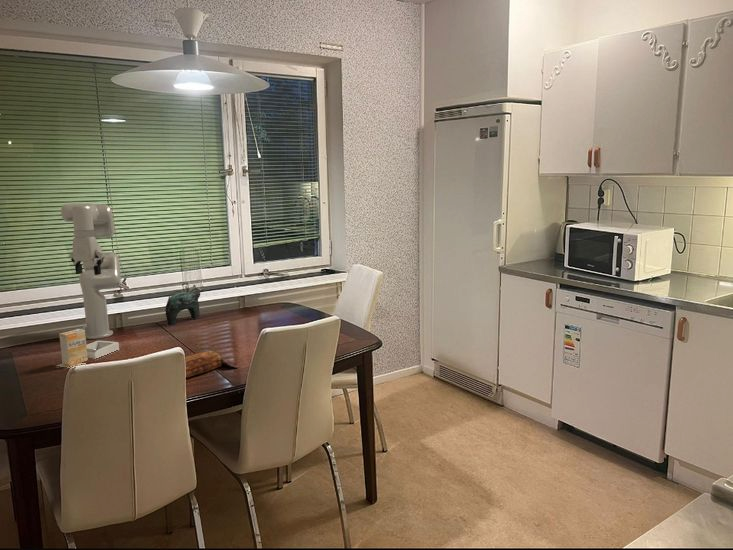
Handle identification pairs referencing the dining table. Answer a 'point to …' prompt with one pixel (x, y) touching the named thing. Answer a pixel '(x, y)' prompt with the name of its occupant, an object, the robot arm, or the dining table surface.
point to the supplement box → (73, 347)
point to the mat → (70, 366)
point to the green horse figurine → (183, 304)
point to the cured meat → (204, 363)
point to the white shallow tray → (101, 348)
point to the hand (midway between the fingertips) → (88, 274)
